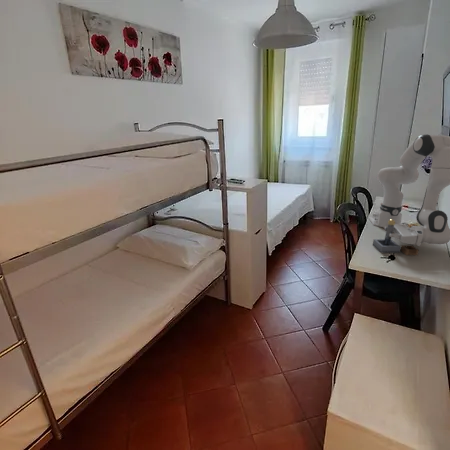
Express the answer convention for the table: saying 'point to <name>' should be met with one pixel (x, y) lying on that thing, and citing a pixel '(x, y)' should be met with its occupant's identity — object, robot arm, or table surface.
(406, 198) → the table surface
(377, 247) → the tray
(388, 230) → the pin
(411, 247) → the collar
